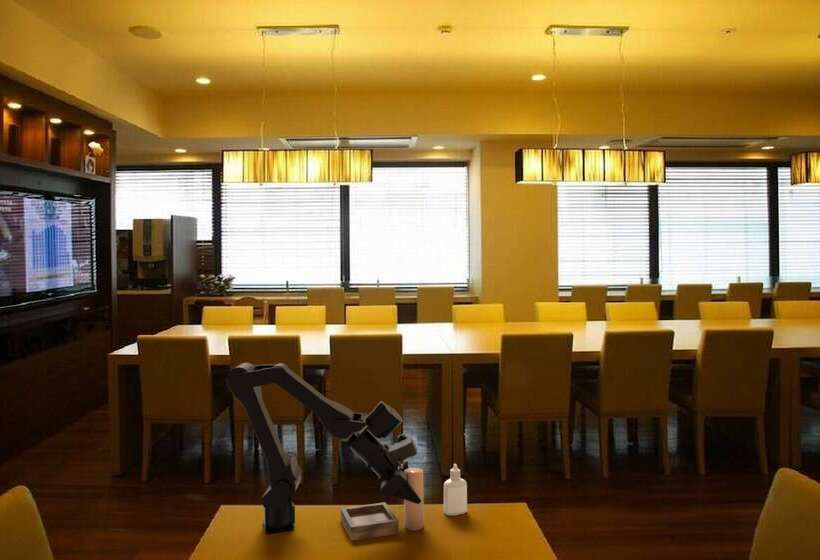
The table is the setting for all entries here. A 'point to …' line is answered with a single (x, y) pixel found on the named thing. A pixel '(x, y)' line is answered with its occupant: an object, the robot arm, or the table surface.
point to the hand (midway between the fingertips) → (419, 498)
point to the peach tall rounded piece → (411, 509)
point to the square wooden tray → (369, 521)
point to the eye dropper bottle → (455, 494)
